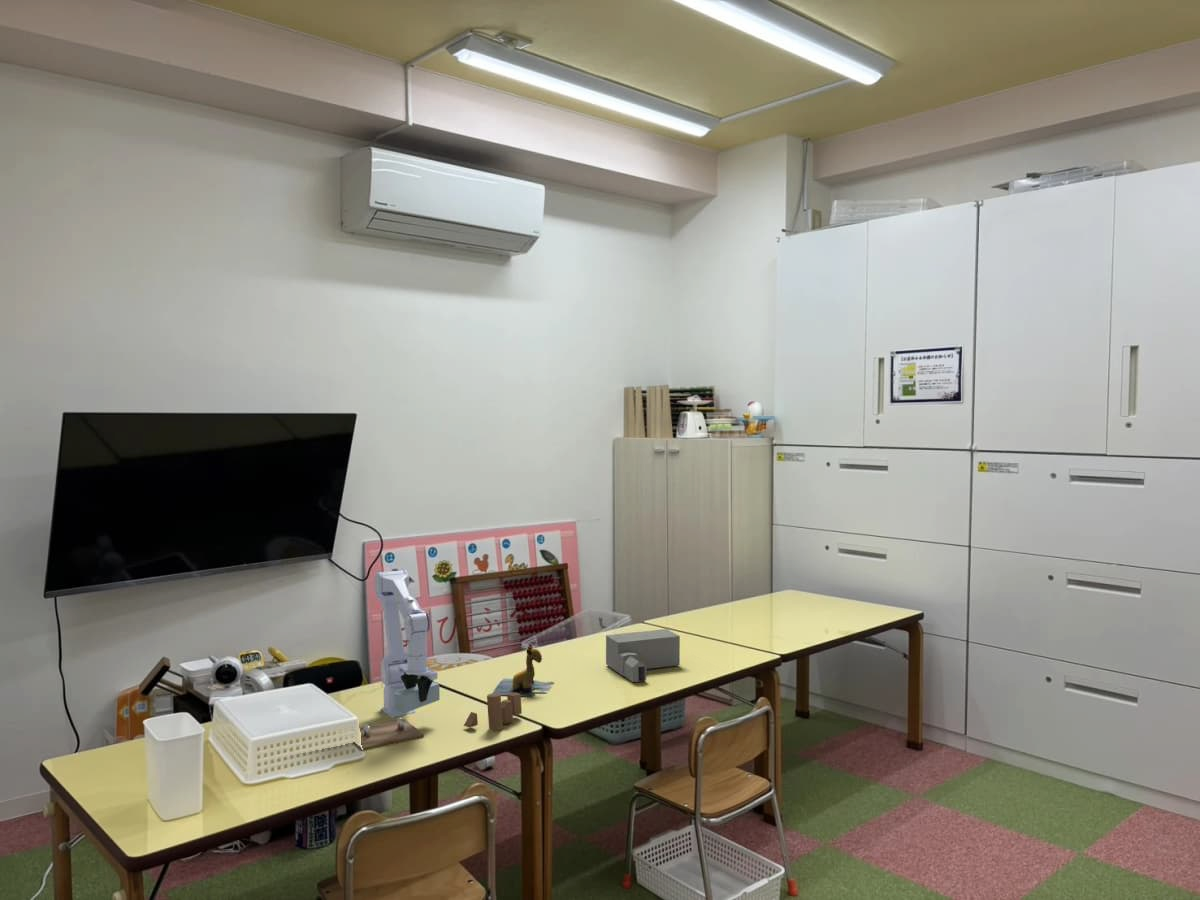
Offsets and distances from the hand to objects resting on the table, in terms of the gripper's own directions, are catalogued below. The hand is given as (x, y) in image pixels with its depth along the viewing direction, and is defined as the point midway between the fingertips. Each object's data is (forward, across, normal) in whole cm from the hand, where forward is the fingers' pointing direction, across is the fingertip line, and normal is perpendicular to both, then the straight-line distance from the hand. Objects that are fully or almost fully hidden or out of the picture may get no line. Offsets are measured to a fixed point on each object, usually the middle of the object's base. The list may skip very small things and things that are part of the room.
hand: (417, 699), depth 256 cm
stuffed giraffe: (+10, +2, +46) cm, 47 cm away
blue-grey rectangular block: (+2, 0, 0) cm, 2 cm away
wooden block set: (+9, +18, +15) cm, 25 cm away
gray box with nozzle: (+9, +25, +91) cm, 95 cm away
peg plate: (+9, -4, -10) cm, 14 cm away
